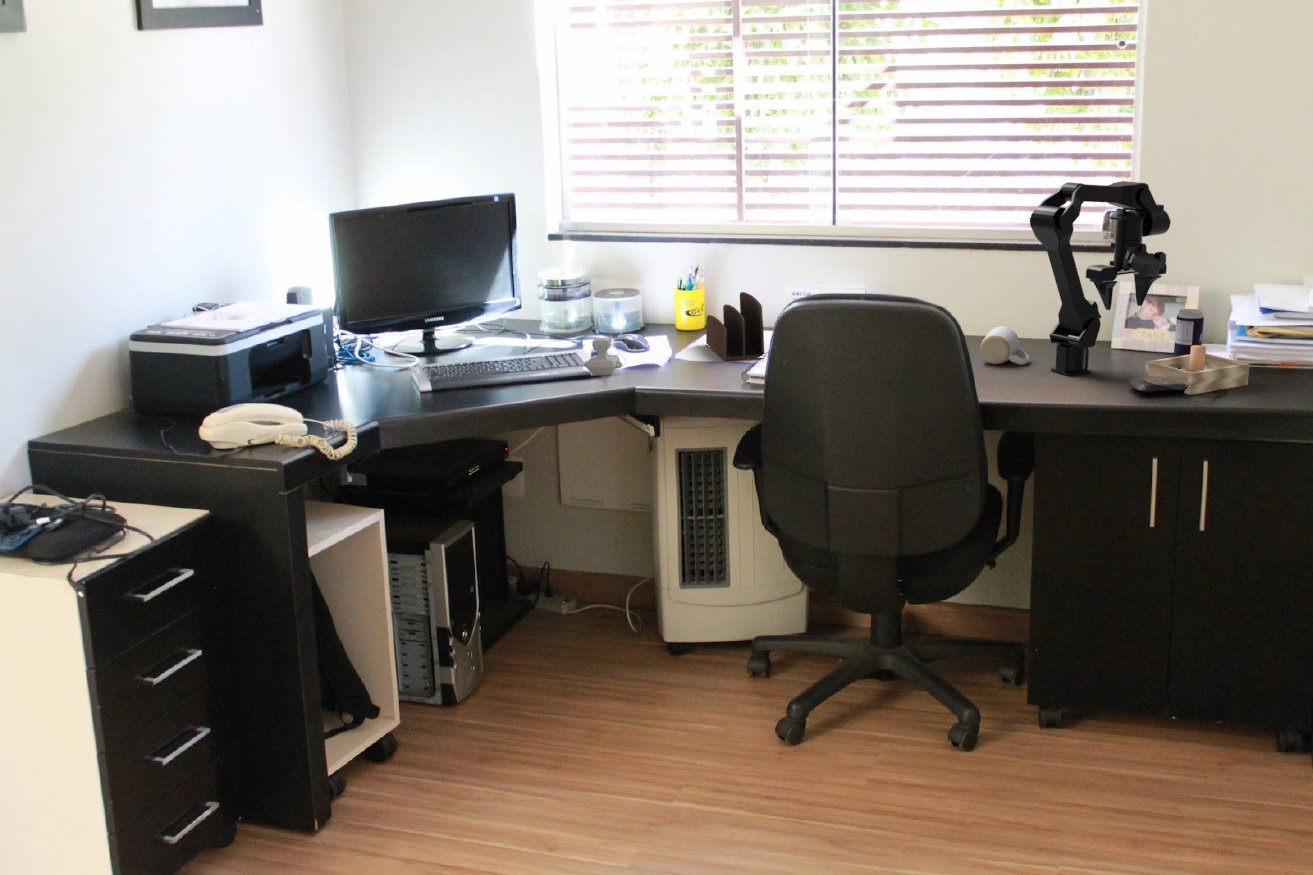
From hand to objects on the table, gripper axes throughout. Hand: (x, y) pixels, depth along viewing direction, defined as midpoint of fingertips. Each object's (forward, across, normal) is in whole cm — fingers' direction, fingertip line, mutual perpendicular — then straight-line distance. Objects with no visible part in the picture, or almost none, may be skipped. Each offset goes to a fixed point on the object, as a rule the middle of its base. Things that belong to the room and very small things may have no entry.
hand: (1123, 307), depth 299 cm
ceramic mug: (+13, -22, +13) cm, 29 cm away
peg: (+12, -1, -24) cm, 27 cm away
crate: (+12, -1, -24) cm, 27 cm away
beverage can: (+13, +11, -9) cm, 19 cm away
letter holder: (+13, -70, +57) cm, 91 cm away
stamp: (+13, -107, +52) cm, 120 cm away
